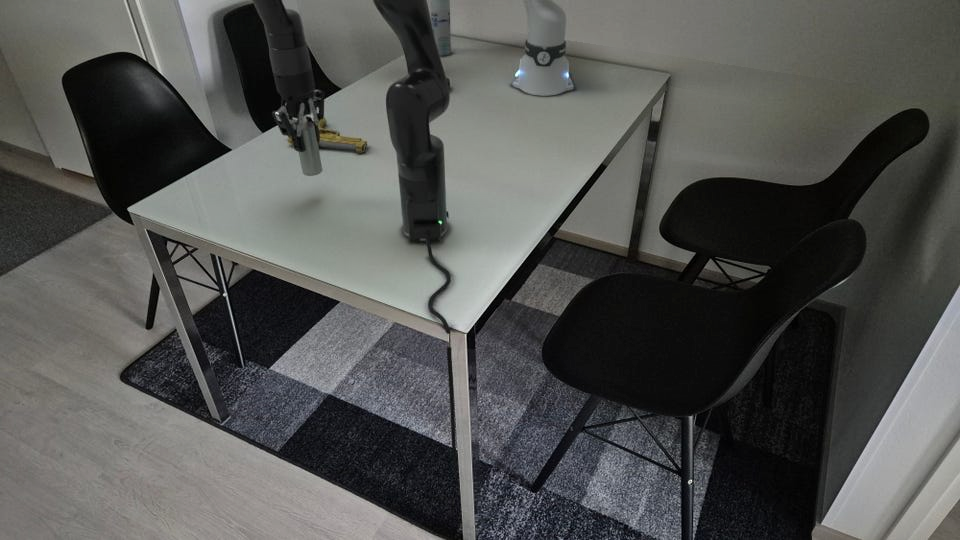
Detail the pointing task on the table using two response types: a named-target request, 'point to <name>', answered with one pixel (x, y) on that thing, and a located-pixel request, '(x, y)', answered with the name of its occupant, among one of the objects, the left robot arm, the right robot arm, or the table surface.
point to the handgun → (337, 139)
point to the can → (310, 150)
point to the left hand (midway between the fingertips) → (307, 145)
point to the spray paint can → (441, 25)
